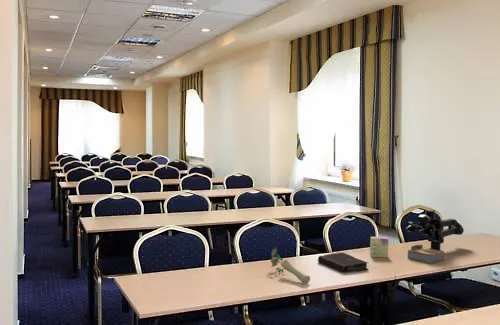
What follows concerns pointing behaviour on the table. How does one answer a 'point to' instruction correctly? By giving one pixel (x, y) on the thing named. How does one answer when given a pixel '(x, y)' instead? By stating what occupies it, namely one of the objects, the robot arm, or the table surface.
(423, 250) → the lid
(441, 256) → the base
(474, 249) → the table surface
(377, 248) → the box
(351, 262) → the diary
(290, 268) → the flower vase
